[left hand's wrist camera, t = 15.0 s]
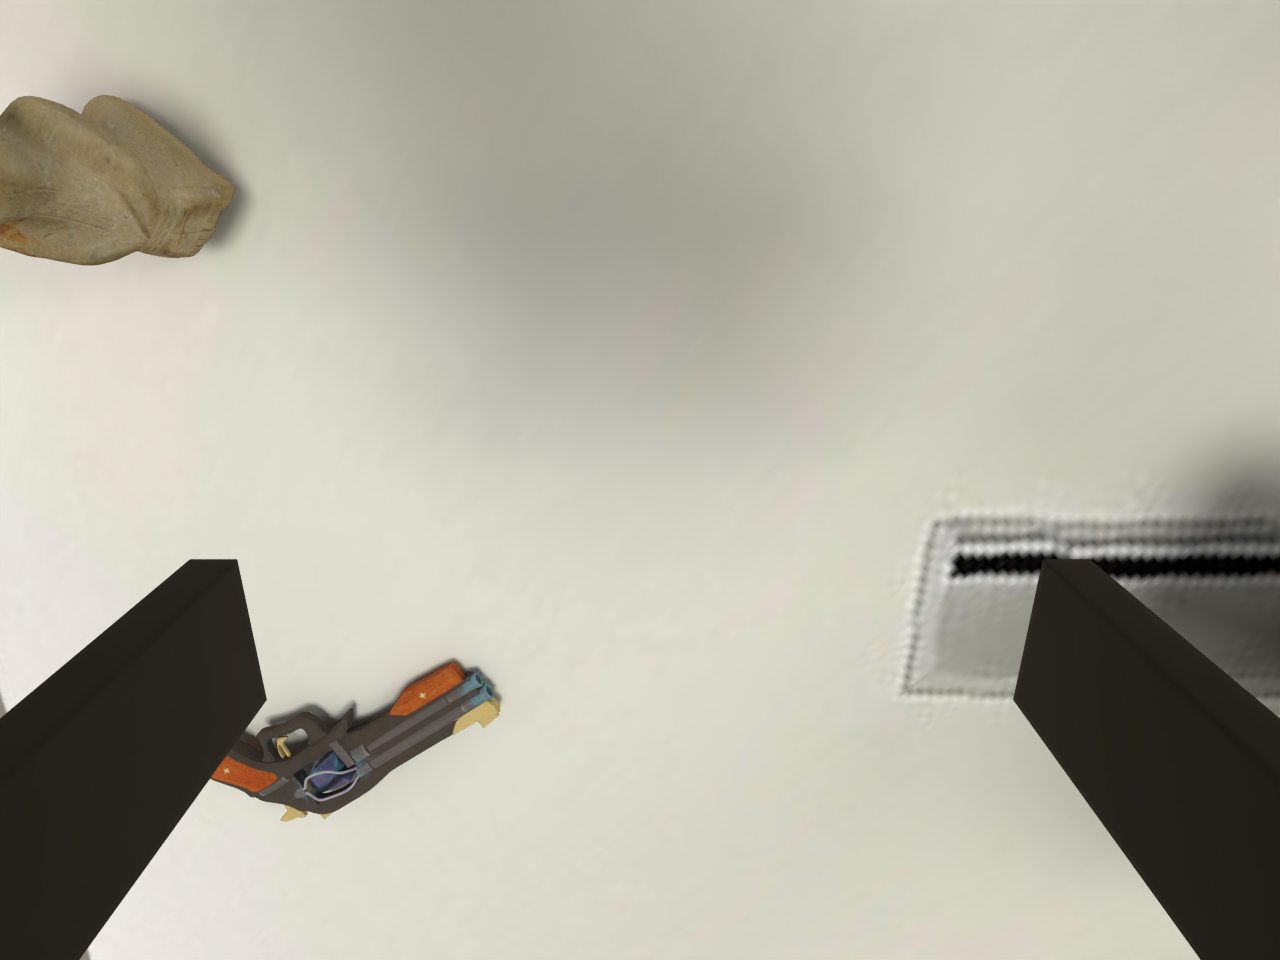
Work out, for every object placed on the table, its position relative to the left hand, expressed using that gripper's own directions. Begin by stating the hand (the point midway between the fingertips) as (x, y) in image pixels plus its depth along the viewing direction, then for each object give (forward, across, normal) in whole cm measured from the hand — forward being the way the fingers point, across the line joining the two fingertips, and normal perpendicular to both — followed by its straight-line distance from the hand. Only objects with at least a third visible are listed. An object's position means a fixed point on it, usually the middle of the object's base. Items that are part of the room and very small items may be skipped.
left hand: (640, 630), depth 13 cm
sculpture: (+29, -22, +7) cm, 37 cm away
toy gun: (+29, -19, -24) cm, 42 cm away
